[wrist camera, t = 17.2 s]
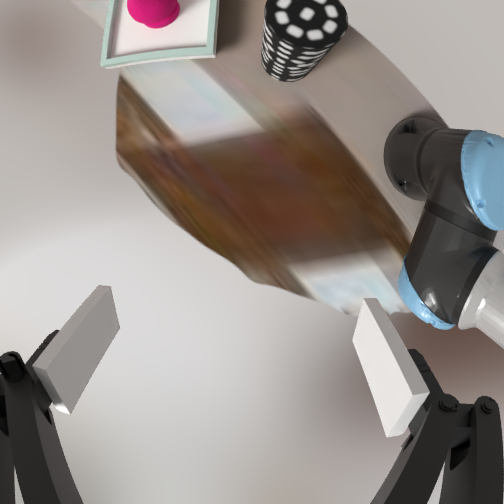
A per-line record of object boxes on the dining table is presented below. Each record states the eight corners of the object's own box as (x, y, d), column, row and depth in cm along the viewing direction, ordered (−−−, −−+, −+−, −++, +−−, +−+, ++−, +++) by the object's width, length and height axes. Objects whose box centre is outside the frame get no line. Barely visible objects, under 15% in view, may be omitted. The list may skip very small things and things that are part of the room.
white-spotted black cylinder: (297, 91, 42) (325, 64, 23) (251, 66, 40) (248, 24, 22) (321, 53, 39) (360, 9, 21) (276, 28, 38) (289, -29, 19)
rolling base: (224, -24, 33) (220, -39, 28) (218, 61, 40) (212, 52, 35) (127, -11, 33) (114, -23, 28) (116, 71, 40) (100, 66, 34)
